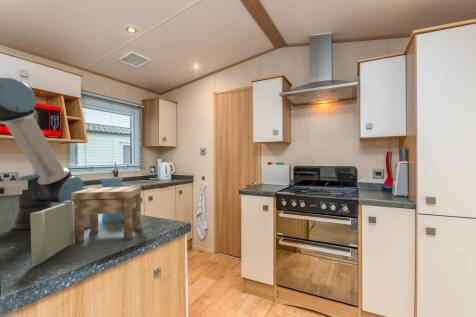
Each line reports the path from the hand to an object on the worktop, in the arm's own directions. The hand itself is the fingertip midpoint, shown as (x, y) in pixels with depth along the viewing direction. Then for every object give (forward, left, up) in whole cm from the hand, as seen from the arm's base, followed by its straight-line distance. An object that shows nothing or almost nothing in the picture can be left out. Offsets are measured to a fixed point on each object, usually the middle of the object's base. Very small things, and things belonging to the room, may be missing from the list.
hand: (25, 186), depth 68 cm
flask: (-25, +23, -22) cm, 41 cm away
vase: (-27, +36, -22) cm, 50 cm away
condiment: (-15, +38, -22) cm, 47 cm away
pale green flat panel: (+1, +7, -22) cm, 23 cm away
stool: (-4, +25, -22) cm, 34 cm away
